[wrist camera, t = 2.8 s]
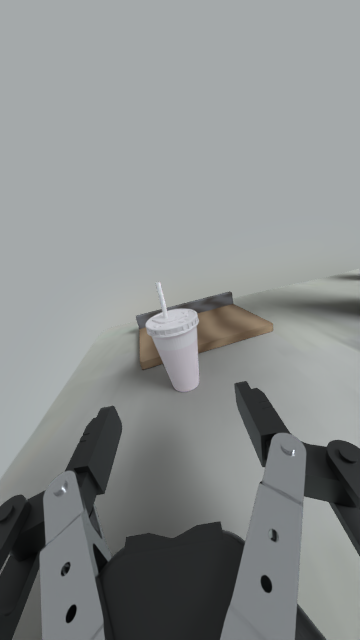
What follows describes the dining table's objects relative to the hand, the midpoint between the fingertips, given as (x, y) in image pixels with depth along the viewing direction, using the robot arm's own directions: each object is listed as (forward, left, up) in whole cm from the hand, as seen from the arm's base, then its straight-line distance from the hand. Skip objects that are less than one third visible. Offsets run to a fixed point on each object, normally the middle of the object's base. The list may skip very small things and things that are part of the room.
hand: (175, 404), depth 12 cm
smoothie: (-2, -11, -8) cm, 14 cm away
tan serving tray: (-8, -25, -8) cm, 27 cm away
